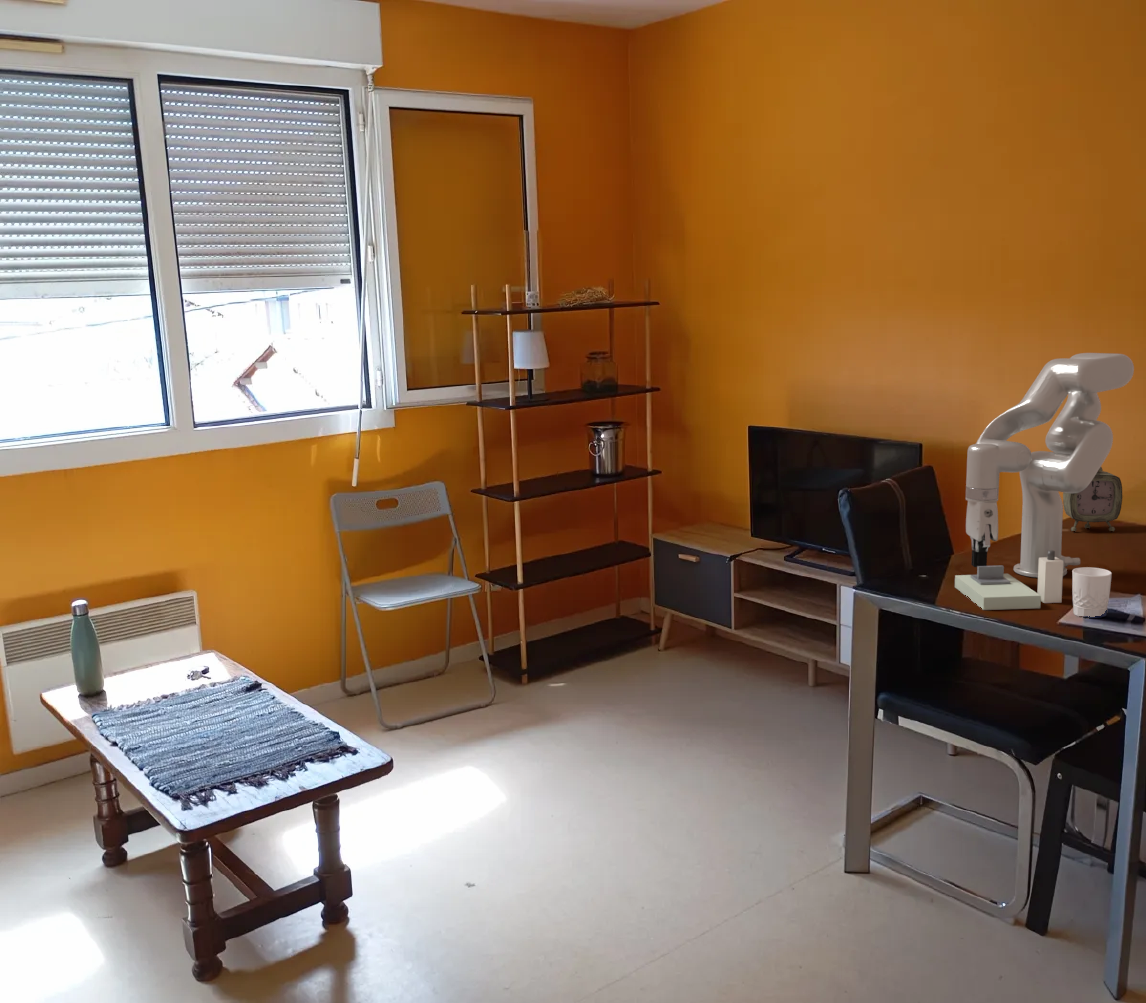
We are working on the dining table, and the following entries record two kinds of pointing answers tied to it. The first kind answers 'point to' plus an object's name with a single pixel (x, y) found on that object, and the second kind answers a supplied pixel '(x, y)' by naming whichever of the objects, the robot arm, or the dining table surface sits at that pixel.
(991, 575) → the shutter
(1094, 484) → the tabletop clock
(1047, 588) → the plug
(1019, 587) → the socket board
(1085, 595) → the white cup
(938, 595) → the dining table surface
